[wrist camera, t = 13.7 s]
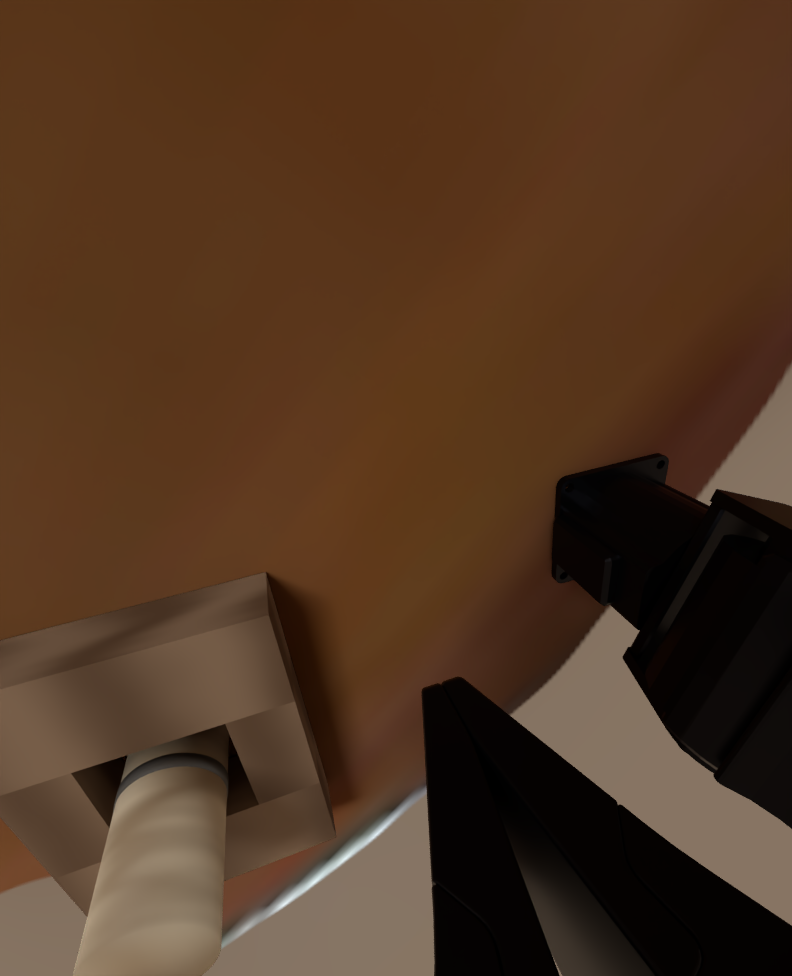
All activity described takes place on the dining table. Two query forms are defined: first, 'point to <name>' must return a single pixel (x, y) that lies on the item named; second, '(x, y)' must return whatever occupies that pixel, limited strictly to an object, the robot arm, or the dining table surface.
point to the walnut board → (157, 726)
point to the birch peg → (162, 864)
